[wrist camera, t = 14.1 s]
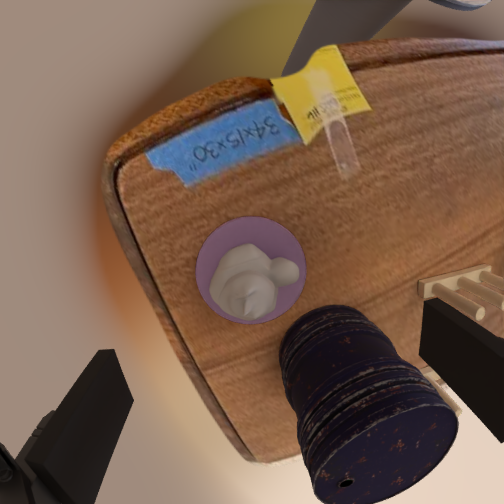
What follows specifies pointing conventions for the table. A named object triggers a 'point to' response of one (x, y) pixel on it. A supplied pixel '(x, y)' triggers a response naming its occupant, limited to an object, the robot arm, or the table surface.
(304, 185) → the table surface
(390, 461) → the dark blue barrel
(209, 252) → the purple coaster
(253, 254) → the grey lumpy piece
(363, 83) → the table surface
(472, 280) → the rack
